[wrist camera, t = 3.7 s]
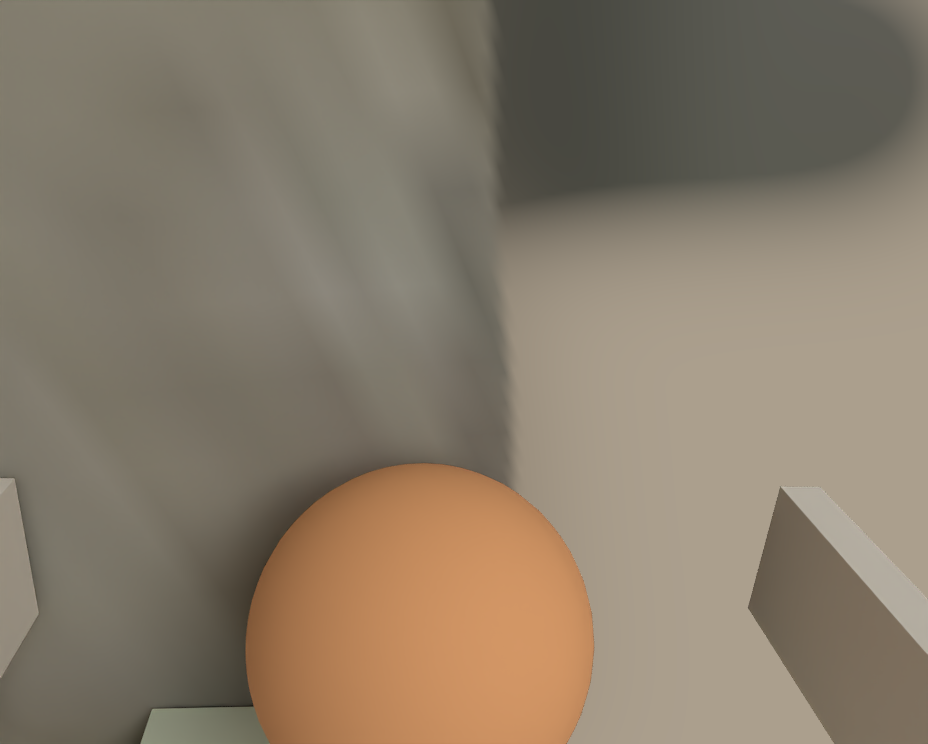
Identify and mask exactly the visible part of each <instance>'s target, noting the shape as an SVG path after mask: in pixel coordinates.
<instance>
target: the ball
mask: <svg viewBox="0 0 928 744" xmlns="http://www.w3.org/2000/svg"><path fill="white" fill-rule="evenodd" d="M593 655H594V636H593V623H592V612H591V608H590V604H589V600H588V596H587V592H586V588H585V584H584V581H583V579H582V576H581V574H580V572H579V569H578V567H577V565H576V562H575V560H574V558H573V556H572V554H571V552H570V550H569V549H568V547H567V546H566V544H565V542H564V541H563V539H562V538H561V536H560V535H559V534H558V532H557V531H556V530H555V528H554V527H553V526H552V525H551V523H550V522H549V521H548V520H547V519H546V518H545V517H544V516H543V515H542V513H541V512H540V511H539V510H537V509H536V508H535V507H534V506H533V505H531V504H530V503H529V502H528V501H526V500H525V499H524V498H523V497H522V496H521V495H519V494H518V493H517V492H515V491H513V490H512V489H510V488H509V487H507V486H505V485H504V484H502V483H500V482H498V481H496V480H493V479H491V478H489V477H487V476H485V475H482V474H479V473H476V472H473V471H470V470H467V469H464V468H460V467H455V466H449V465H444V464H430V463H418V464H403V465H397V466H390V467H386V468H382V469H378V470H375V471H371V472H368V473H366V474H363V475H361V476H358V477H356V478H353V479H351V480H350V481H348V482H346V483H344V484H342V485H340V486H339V487H337V488H335V489H333V490H332V491H330V492H328V493H327V494H326V495H324V496H323V497H321V498H320V499H319V500H317V501H316V502H315V503H313V504H312V505H311V506H310V507H309V508H308V509H307V510H306V511H305V512H304V513H303V514H302V515H301V516H300V517H299V518H298V519H297V520H296V521H295V522H294V523H293V524H292V525H291V527H290V528H289V529H288V530H287V532H286V533H285V534H284V535H283V537H282V538H281V539H280V541H279V542H278V544H277V546H276V548H275V549H274V551H273V553H272V555H271V556H270V558H269V560H268V561H267V563H266V565H265V567H264V569H263V571H262V574H261V576H260V579H259V581H258V584H257V587H256V590H255V593H254V596H253V599H252V603H251V608H250V612H249V617H248V624H247V632H246V670H247V677H248V684H249V690H250V694H251V697H252V701H253V705H254V708H255V711H256V714H257V717H258V721H259V723H260V725H261V727H262V729H263V731H264V733H265V735H266V737H267V739H268V741H269V743H270V744H567V742H568V740H569V738H570V737H571V735H572V733H573V731H574V729H575V727H576V725H577V722H578V720H579V718H580V716H581V713H582V710H583V707H584V703H585V700H586V697H587V693H588V690H589V686H590V681H591V674H592V666H593Z"/></svg>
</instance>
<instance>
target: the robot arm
mask: <svg viewBox="0 0 928 744" xmlns="http://www.w3.org/2000/svg"><path fill="white" fill-rule="evenodd" d="M748 608H749V610H750V611H751V613H752V615H753V616H754V618H755V619H756V621H757V623H758V624H759V626H760V627H761V629H762V630H763V632H764V634H765V635H766V637H767V638H768V640H769V641H770V643H771V645H772V646H773V648H774V649H775V651H776V653H777V654H778V656H779V657H780V659H781V660H782V662H783V664H784V665H785V667H786V668H787V670H788V671H789V673H790V674H791V676H792V678H793V679H794V681H795V682H796V684H797V686H798V687H799V689H800V690H801V692H802V693H803V695H804V696H805V698H806V700H807V701H808V703H809V704H810V706H811V707H812V709H813V711H814V712H815V714H816V716H817V717H818V719H819V720H820V722H821V723H822V725H823V727H824V728H825V730H826V731H827V733H828V734H829V736H830V738H831V739H832V741H833V742H834V744H928V599H927V598H926V596H925V595H924V594H923V593H922V592H921V591H920V590H919V589H918V588H917V587H916V586H915V585H914V584H913V583H912V582H911V581H910V580H909V579H908V578H907V577H906V576H905V575H904V574H903V573H902V572H901V570H899V568H898V567H897V566H896V565H895V564H894V563H893V562H891V560H890V559H889V558H888V557H887V556H886V555H885V554H884V553H883V552H882V551H881V550H880V549H879V548H878V547H877V546H876V545H875V544H874V542H872V540H871V539H870V538H869V537H868V536H867V535H866V534H865V533H864V532H863V531H862V530H861V529H860V528H859V527H858V526H857V525H856V524H855V523H854V522H853V521H852V520H851V518H850V517H849V516H848V515H846V513H845V512H844V511H843V510H842V509H841V508H840V507H839V506H838V505H837V504H836V503H835V502H834V501H833V500H832V499H831V498H830V497H829V496H828V495H827V494H826V493H825V491H824V490H823V489H822V488H821V487H783V486H780V490H779V494H778V498H777V501H776V505H775V509H774V512H773V516H772V520H771V524H770V528H769V531H768V535H767V539H766V542H765V546H764V550H763V554H762V557H761V561H760V565H759V569H758V573H757V576H756V580H755V584H754V587H753V591H752V595H751V599H750V603H749V606H748ZM38 614H39V611H38V606H37V600H36V595H35V589H34V583H33V578H32V572H31V567H30V561H29V556H28V550H27V544H26V539H25V533H24V528H23V522H22V517H21V511H20V505H19V500H18V494H17V489H16V483H15V478H0V679H1V677H2V675H3V674H4V672H5V670H6V669H7V667H8V665H9V664H10V662H11V660H12V658H13V657H14V655H15V653H16V652H17V650H18V648H19V647H20V645H21V643H22V642H23V640H24V638H25V636H26V635H27V633H28V631H29V630H30V628H31V626H32V625H33V623H34V621H35V619H36V618H37V616H38Z"/></svg>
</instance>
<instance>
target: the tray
mask: <svg viewBox="0 0 928 744" xmlns="http://www.w3.org/2000/svg"><path fill="white" fill-rule="evenodd" d="M140 744H270V743H269V741H268V739H267V737H266V735H265V733H264V731H263V729H262V727H261V725H260V723H259V721H258V717H257V714H256V711H255V708H254V707H212V708H166V709H152V711H151V714H150V717H149V720H148V723H147V726H146V729H145V732H144V734H143V737H142V740H141V743H140Z"/></svg>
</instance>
